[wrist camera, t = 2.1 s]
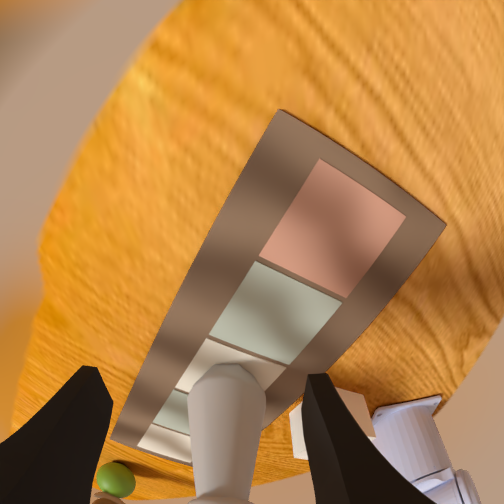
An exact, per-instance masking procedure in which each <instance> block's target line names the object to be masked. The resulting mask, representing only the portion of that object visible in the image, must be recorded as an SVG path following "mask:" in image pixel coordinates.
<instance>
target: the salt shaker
mask: <svg viewBox="0 0 504 504" xmlns="http://www.w3.org/2000/svg"><path fill="white" fill-rule="evenodd" d="M187 404H188V417H189V430H190V441H191V452H192V462H193V471H194V480H195V488H196V496H197V499H193V500H191V501H190V502H189V503H188V504H253V503H252V502H249V501H248V499H249V494H250V488H251V483H252V478H253V472H254V467H255V461H256V456H257V451H258V446H259V441H260V436H261V431H262V425H263V420H264V415H265V410H266V396H265V392H264V391H263V389H262V388H261V386H260V384H259V383H258V381H257V380H256V378H255V376H254V375H252V374H251V373H250V372H248V371H247V370H246V369H244V368H243V367H242V366H240V365H239V364H214V365H213V366H212V367H211V368H210V369H209V370H208V371H207V372H206V373H204V374H203V375H202V376H201V378H200V379H199V380H197V381H196V382H195V383H194V385H193V387H192V389H191V390H190V392H189V394H188V397H187Z"/></svg>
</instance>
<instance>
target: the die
mask: <svg viewBox="0 0 504 504" xmlns="http://www.w3.org/2000/svg"><path fill="white" fill-rule="evenodd" d="M335 388H336V390H337V392H338V394H339V395H340V397H341V399H342V400H343V402H344V403H345V405H346V407H347V408H348V410H349V411H350V413H351V414H352V416H353V417H354V419H355V420H356V422H357V423H358V424H359V426H360V427H361V429H362V430H363V431H364V433H365V434H366V435H367V437H368V438H369V439H370V440H371V441H372V440H374V439H375V438H376V434H375V431H374V428H373V424H372V421H371V418H370V414H369V411H368V408H367V405H366V401H365V398H364V395H362V394H358V393H355V392H351V391H347V390H344V389H340V388H337V387H335ZM302 402H303V401H302ZM302 402H301V403H300V404H299V405H298V406H297V407H296V408H295V409H293V410H292V411H291V412H290V413H289V416H290V425H291V434H292V444H293V453H294V458H300V459H306V460H308V456H307V451H306V446H305V442H304V436H303V427H302V415H301V407H302Z"/></svg>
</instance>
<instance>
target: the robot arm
mask: <svg viewBox="0 0 504 504" xmlns="http://www.w3.org/2000/svg"><path fill="white" fill-rule="evenodd" d="M441 399H442V398H441V396H440V395H438V396H434V397H430V398H425V399H420V400H416V401H411V402H406V403H401V404H395V405H390V406H384V407H379V408H377V409H376V410H375V412H374V414H373V416H372V418H371V421H372V424H373V428H374V431H375V434H376V438H375V439H374V440H372V441H371V440H370V439H369V438H368V437H367V435H366V434H365V433H364V431H363V430H362V429H361V427H360V426H359V424H358V423H357V422H356V420H355V419H354V417H353V416H352V414H351V413H350V411H349V410H348V408H347V407H346V405H345V403H344V402H343V400H342V399H341V397H340V395H339V394H338V392H337V390H336V388H335V387H334V385H333V383H332V381H331V379H330V377H329V375H328V374H326V373H319V374H308V375H307V380H306V386H305V391H304V397H303V402H302V407H301V415H302V427H303V436H304V442H305V446H306V451H307V456H308V461H309V466H310V471H311V475H312V480H313V485H314V491H315V497H316V504H481V501H480V498H479V495H478V493H477V490H476V487H475V485H474V483H473V480H472V478H471V476H470V474H469V472H468V471H466V470H462V469H459V470H458V471H455V470H454V469H453V467H452V464H451V462H450V459H449V457H448V454H447V451H446V449H445V447H444V444H443V442H442V439H441V437H440V434H439V432H438V430H437V427H436V425H435V422H434V420H433V418H432V413H433V412H434V410H435V409H436V407H437V406H438V404H439V403H440V401H441ZM112 408H113V400H112V398H111V396H110V394H109V392H108V390H107V388H106V386H105V384H104V382H103V379H102V377H101V375H100V373H99V371H98V368H97V367H92V366H84V365H83V366H82V367H81V368H80V369H79V370H78V371H77V372H76V373H75V374H74V375H73V376H72V377H71V378H70V379H69V380H68V381H67V382H66V383H65V384H64V385H63V386H62V387H61V389H60V390H59V391H58V392H57V393H56V394H55V395H54V396H53V397H52V398H51V399H50V400H49V401H48V402H47V403H46V404H45V405H44V406H43V407H42V408H41V409H40V410H39V411H38V412H37V413H36V414H35V415H34V416H33V417H32V418H31V419H30V420H29V421H28V422H27V423H26V424H25V425H23V426H22V427H21V428H20V429H19V430H18V431H16V432H15V433H14V434H13V435H11V436H10V437H9V438H7V439H6V440H5V441H3V442H2V443H0V504H90V497H91V489H92V483H93V479H94V474H95V471H96V467H97V464H98V461H99V457H100V454H101V451H102V448H103V445H104V441H105V438H106V435H107V432H108V428H109V424H110V419H111V414H112Z"/></svg>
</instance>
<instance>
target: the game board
mask: <svg viewBox="0 0 504 504" xmlns="http://www.w3.org/2000/svg"><path fill="white" fill-rule="evenodd" d="M445 227H446V224H444V223H443V222H442V221H441V220H440V219H439V218H437V217H436V216H435V215H434V214H433V213H431V212H430V211H429V210H428V209H426V208H425V207H424V206H423V205H421V204H420V203H419V202H418V201H416V200H415V199H414V198H413V197H411V196H410V195H409V194H407V193H406V192H405V191H404V190H402V189H401V188H400V187H398V186H397V185H396V184H394V183H393V182H392V181H390V180H389V179H387V178H386V177H385V176H383V175H382V174H381V173H379V172H378V171H376V170H375V169H374V168H372V167H371V166H369V165H368V164H366V163H365V162H364V161H362V160H361V159H359V158H358V157H356V156H355V155H353V154H352V153H350V152H349V151H347V150H346V149H344V148H343V147H341V146H340V145H338V144H337V143H335V142H333V141H332V140H330V139H329V138H327V137H325V136H324V135H322V134H321V133H319V132H317V131H316V130H314V129H313V128H311V127H309V126H308V125H306V124H304V123H303V122H301V121H299V120H297V119H296V118H294V117H292V116H291V115H289V114H287V113H285V112H283V111H282V110H280V109H278V110H277V112H276V114H275V115H274V117H273V119H272V120H271V122H270V124H269V125H268V127H267V129H266V131H265V132H264V134H263V136H262V137H261V139H260V141H259V143H258V144H257V146H256V148H255V150H254V151H253V153H252V155H251V157H250V158H249V160H248V162H247V164H246V165H245V167H244V169H243V171H242V172H241V174H240V176H239V178H238V180H237V181H236V183H235V185H234V187H233V189H232V190H231V192H230V194H229V196H228V198H227V199H226V201H225V203H224V205H223V207H222V209H221V210H220V212H219V214H218V216H217V218H216V220H215V222H214V223H213V225H212V227H211V229H210V231H209V233H208V235H207V237H206V238H205V240H204V242H203V244H202V246H201V248H200V250H199V252H198V254H197V256H196V258H195V260H194V261H193V263H192V265H191V267H190V269H189V271H188V273H187V275H186V277H185V279H184V281H183V283H182V285H181V287H180V289H179V291H178V293H177V295H176V297H175V299H174V301H173V303H172V305H171V307H170V309H169V311H168V313H167V315H166V317H165V319H164V321H163V323H162V325H161V327H160V329H159V331H158V333H157V336H156V338H155V340H154V342H153V344H152V346H151V348H150V350H149V352H148V354H147V357H146V359H145V361H144V363H143V365H142V367H141V369H140V372H139V374H138V376H137V378H136V380H135V382H134V385H133V387H132V389H131V391H130V393H129V396H128V398H127V400H126V402H125V405H124V407H123V409H122V411H121V414H120V416H119V418H118V420H117V423H116V425H115V427H114V430H113V432H112V434H111V437H110V439H111V440H113V441H116V442H118V443H121V444H124V445H126V446H129V447H132V448H134V449H137V450H140V451H143V452H146V453H149V454H152V455H155V456H158V457H161V458H164V459H167V460H171V461H174V462H177V463H181V464H185V465H188V466H192V467H193V462H192V452H191V441H190V430H189V417H188V404H187V397H188V394H189V392H190V390H191V389H192V387H193V385H194V383H195V382H196V381H197V380H199V379H200V378H201V376H202V375H203V374H204V373H206V372H207V371H208V370H209V369H210V368H211V367H212V366H213V365H214V364H239V365H240V366H242V367H243V368H244V369H246V370H247V371H248V372H250V373H251V374H252V375H254V376H255V378H256V380H257V381H258V383H259V384H260V386H261V388H262V389H263V391H264V392H265V396H266V410H265V415H264V420H263V425H262V430H263V429H264V428H266V427H267V426H268V425H269V424H270V423H271V422H272V421H274V420H275V419H276V418H277V417H278V416H279V415H280V414H282V413H283V412H284V411H285V410H286V409H287V408H288V407H289V406H290V405H291V404H293V403H294V402H295V401H296V400H297V399H298V398H299V397H300V396H301V395H302V394H303V393H304V391H305V386H306V380H307V375H308V374H319V373H325V372H326V371H327V370H328V369H329V368H330V367H331V366H332V365H333V363H334V362H335V361H336V360H337V359H338V358H339V357H340V356H341V355H342V354H343V353H344V352H345V351H346V350H347V349H348V348H349V347H350V346H351V344H352V343H353V342H354V341H355V340H356V339H357V338H358V337H359V336H360V335H361V333H362V332H363V331H364V330H365V329H366V328H367V327H368V326H369V324H370V323H371V322H372V321H373V320H374V319H375V318H376V316H377V315H378V314H379V313H380V312H381V311H382V309H383V308H384V307H385V306H386V305H387V303H388V302H389V301H390V300H391V299H392V297H393V296H394V295H395V294H396V292H397V291H398V290H399V289H400V287H401V286H402V285H403V284H404V282H405V281H406V280H407V279H408V277H409V276H410V275H411V273H412V272H413V271H414V270H415V268H416V267H417V266H418V264H419V263H420V262H421V260H422V259H423V258H424V256H425V255H426V253H427V252H428V251H429V249H430V248H431V247H432V245H433V244H434V242H435V241H436V240H437V238H438V237H439V235H440V234H441V232H442V231H443V229H444V228H445Z"/></svg>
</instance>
